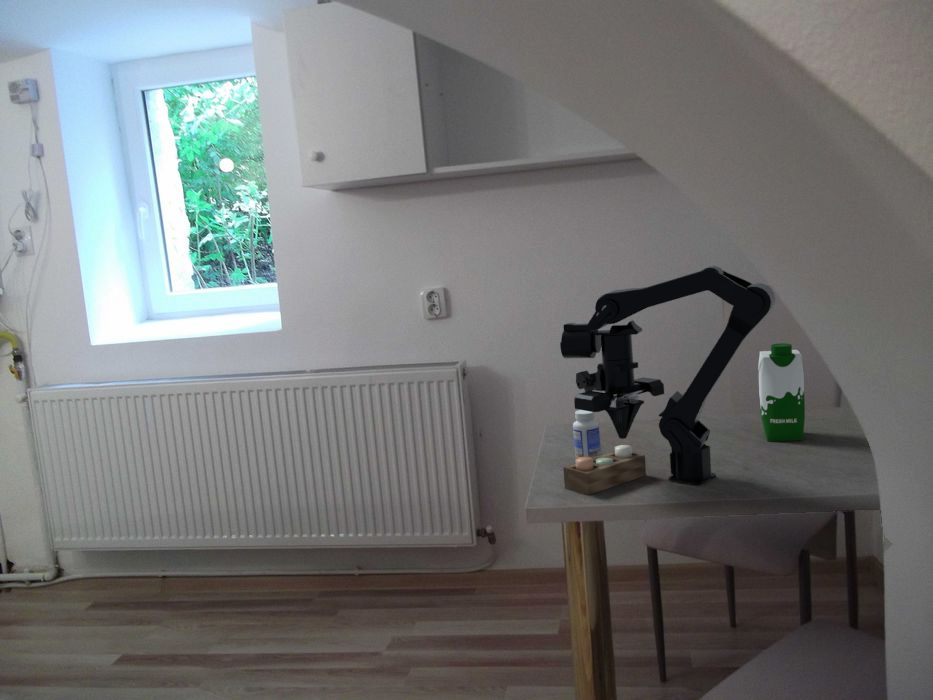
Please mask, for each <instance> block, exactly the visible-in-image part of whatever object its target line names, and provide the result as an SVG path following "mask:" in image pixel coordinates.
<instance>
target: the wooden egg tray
mask: <svg viewBox="0 0 933 700" xmlns="http://www.w3.org/2000/svg"><path fill="white" fill-rule="evenodd" d="M599 458H612V459H613V463H610V464H607V465H601V464H598V463H596V459H599ZM592 459H593V469H591V470H588V471H585V472H583V471H579V470H576V462H575V463H574V464H573V463H572V464H570V465H566V466H563V482H564V489H566V490H570V491H573V492H577V493H581V494H583V495H587V496H590V495H593V494H596V493H599V492H603V491H605V490H607V489H610V488H613V487H616V486H620V485H622V484H625V483H627V482H630V481H634V480H636V479H640V478H642V477H644V476H647V471H646V470H647V469H646V466H647V465H646V454H643V453H638V452H635V451H634V452H633V451H632V456H631V457H628V458H625V459H622V458H618V457H615V450H614V451H611V452H608V453H604V454H601V456H598V457H594V458H592Z"/></svg>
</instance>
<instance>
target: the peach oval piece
mask: <svg viewBox="0 0 933 700" xmlns="http://www.w3.org/2000/svg"><path fill="white" fill-rule="evenodd" d="M574 462H575V463H576V470H579V471H583V472H585V471H588V470H591V469H593V459H592V458H590V457H581V458H575V461H574Z"/></svg>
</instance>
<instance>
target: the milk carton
mask: <svg viewBox="0 0 933 700" xmlns="http://www.w3.org/2000/svg"><path fill="white" fill-rule="evenodd" d="M757 364H758V367H757V369H758V390H759V391H758V392H759V394H758V395H759V412H760V414H759V415H760V417H761V424H762V429H763V433H764V435H765V438H766V440H767V442H780V441H781V442H786V441H787V442H789V441H795V442H796V441H804V431H805V419H806V418H805V417H806V413H805V412H806V411H805V409H806V406H805V376H804V359H803V355H802V354H801V352H800V350H797V349H793V348H792V344H791V343H784V342H783V343H773V344H771V345H770V350H763V351H761V350H759V358H758V363H757Z"/></svg>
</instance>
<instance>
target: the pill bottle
mask: <svg viewBox="0 0 933 700" xmlns="http://www.w3.org/2000/svg"><path fill="white" fill-rule="evenodd" d="M574 415H575V417H574V418H575V420H576V421H574V422H573V424H572V432H573V444H574V445H573V446H574V455H575V459H577V458H581V457H590V458H594V457H598V456H601V455H602V448H601V436H600V423H599V421H598V420H596V419H595V418H596V412H590V411H584V410H579V409H577V410H576V411H575V414H574Z"/></svg>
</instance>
